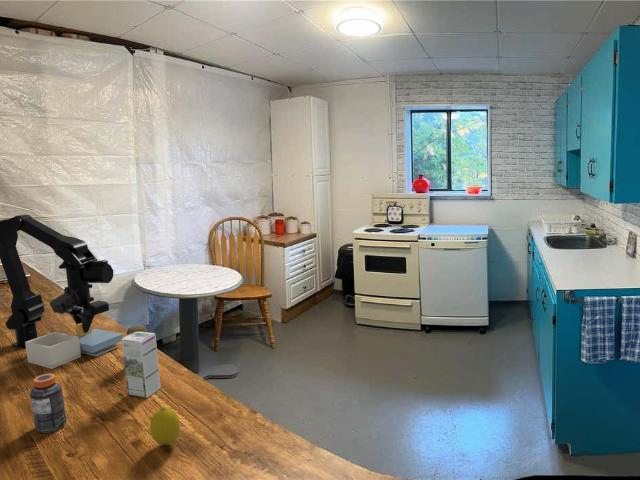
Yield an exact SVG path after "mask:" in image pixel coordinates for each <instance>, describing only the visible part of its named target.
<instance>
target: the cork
mask: <svg viewBox="0 0 640 480" xmlns="http://www.w3.org/2000/svg"><path fill="white" fill-rule="evenodd" d="M136 331H137V332H148V329H147V328H146V326H145V325H142V324H141V325H140V324H137V325H132V326H130V327H128V329H127V330H126V336H127V335H129V334H131V333H133V332H136Z"/></svg>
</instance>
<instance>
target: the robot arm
mask: <svg viewBox="0 0 640 480" xmlns="http://www.w3.org/2000/svg"><path fill="white" fill-rule="evenodd" d="M19 231H22V232H24V233H25V234H27V235H28V236H31V237H32V238H34V239H35V240H37V241H39V242H41V243H42V244H44V245H46V246H47V247H49V248H51V249H52V250H53V252H54V255H56V256H58V257H59V258H60V259H61V260H62V263H61V264H60V265H58V269H60V270H61V269H63V270H65V274H66V283H67V286H65V287H64V289H63V293H62V294H61V295H58V296H57V297H56V298H54V299H52V300H51V301H50V302H49V306H50V308H51V309H52V311H53V313H54V314H56V313H57V314H60V315H63V314H68V315H69V316H71V317H72V319H73V320H74V322H75V325H77V324H79V323H82V327H83V331H84V333H87V332H88V331H89V328H90V326H91V327H92V323H93V321H94V318H95V316H97V315H99V314H103V313H106V312H108V311H110V303H108V302H107V301H104V300H100V299H99V300H95V299H94V298H95V297H94V296H91V292H90V291H91V288H93V284H109V283H111V282H112V280H113V279H114V269H113V267H112V265H111V264H109V260H108V259H103V260H99V259H98V258H97V256H96V255H95V254H94V253H93V251H92V250H91V249H90V248H89V245H88V243H87V242H86V241H85V240H83V239H79V238H77V237H76V236H75V237H74V236H68V235H65V234H63V233H60V232H58V231H57V230H55V229H53V228H52V227H50V226H48V225H46V224H44V223H43V222H40V221H38V220H37V219H36V218H33V216H31V215H30V214H19V215H15V216H13V217H10V218H4V219H0V262H1V265H2V269H3V271H4V274H5V276H6V277H5V278H6V279H7V282H8V285H9V289H10V291H11V294H12V300H11V304H10V309H11V315H10V317H9V318H8V319H7V320H6V321H5V326H6V328H7V330H14V336H15V341H16V342H13V343H11V346H13V347H16V348H19V349H26V345H25V342H27V341H30V340H32V339H35V338H38V337H39V336H38V331H37V324H36V323H37V322H41V321H42V317H43V314H44V312H45V306H46V305H45V302H44V301H43V297H42V295H41V294H40V293H38V294H36V293H35V292H33V291H32V289H31V286H30V284H29V281H28V278H27V275H26V272H25V269H24V266H23V264H22V263H23V262H22V260H21V258H20V257H21V256H20V254H19V252H18V248H17V243H18V239H19V235H18V232H19Z"/></svg>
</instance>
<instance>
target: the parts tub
mask: <svg viewBox="0 0 640 480" xmlns="http://www.w3.org/2000/svg"><path fill="white" fill-rule="evenodd" d="M25 345H26V348H25V351H26V357H27V362H28V363H30V364H32V365H33V364H34V365H36V366H40V367H44V368H47V369H52V370H53V369H54V368H55V369H56V368H57V367H60V366H62V365H65V364H67V363H69V362H72V361H74V360H77V359H80V358H82V353H81V352H80V344H79V337H76V335H71V334H68V333H63V332H58V331H53V332H51V333H48V334H44V335H42V336H38V338H35V339H32V340H30V341H27V342H25Z"/></svg>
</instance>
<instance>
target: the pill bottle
mask: <svg viewBox="0 0 640 480" xmlns="http://www.w3.org/2000/svg"><path fill="white" fill-rule="evenodd" d="M63 394H64V393H63V386H62V385H61V384H60V383H59V382H56V375H55V374H53V373H44V374H40V375H38V376H36V377H35V378H34V379H33V388H32V389H31V390H30V393H29V396H30V404H31V409H32V418H33V422H34V429H35V430H34V431H36V432H37V433H39V434H49V433H53V432H55V431H58V430H60V429H61V428H63V427H64V426H65V425H66V423H67V415H66V408H65V401H64V395H63Z"/></svg>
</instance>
